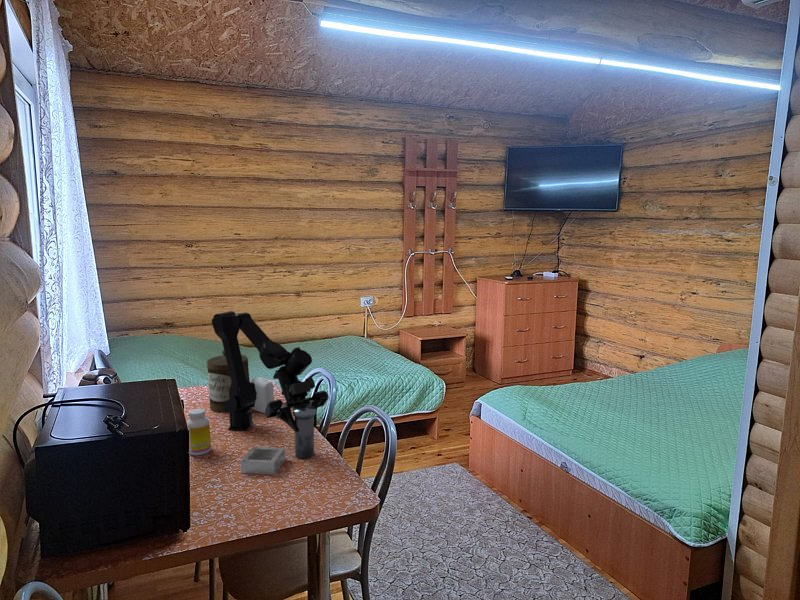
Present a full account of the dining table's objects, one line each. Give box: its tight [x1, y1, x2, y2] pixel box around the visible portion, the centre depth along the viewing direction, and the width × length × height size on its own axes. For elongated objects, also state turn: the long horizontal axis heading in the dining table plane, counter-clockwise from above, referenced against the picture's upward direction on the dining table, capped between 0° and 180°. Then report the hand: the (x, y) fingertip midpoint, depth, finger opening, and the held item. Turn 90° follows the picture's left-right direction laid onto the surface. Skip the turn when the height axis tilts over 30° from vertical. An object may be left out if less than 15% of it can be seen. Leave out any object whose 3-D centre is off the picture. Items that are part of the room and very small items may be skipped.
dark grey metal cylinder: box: [292, 405, 316, 460], centre depth 167 cm, size 7×7×14 cm
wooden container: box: [206, 349, 251, 413], centre depth 210 cm, size 15×15×22 cm
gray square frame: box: [240, 446, 286, 475], centre depth 161 cm, size 10×10×4 cm
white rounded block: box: [250, 376, 275, 414], centre depth 205 cm, size 10×4×12 cm, turn 49°
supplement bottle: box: [186, 408, 212, 456], centre depth 171 cm, size 7×7×13 cm
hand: (306, 429), depth 166 cm, fingers closed on dark grey metal cylinder, 6 cm apart
